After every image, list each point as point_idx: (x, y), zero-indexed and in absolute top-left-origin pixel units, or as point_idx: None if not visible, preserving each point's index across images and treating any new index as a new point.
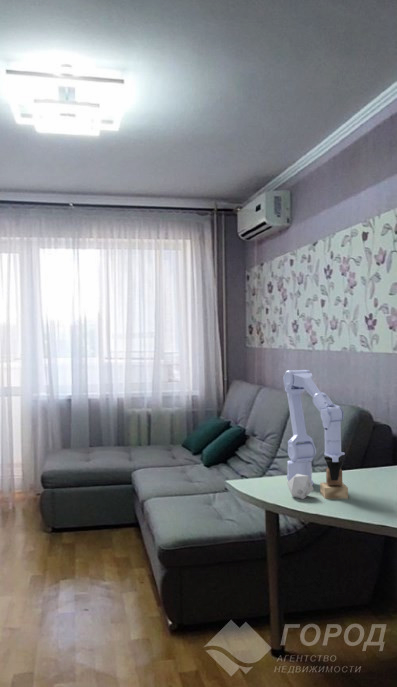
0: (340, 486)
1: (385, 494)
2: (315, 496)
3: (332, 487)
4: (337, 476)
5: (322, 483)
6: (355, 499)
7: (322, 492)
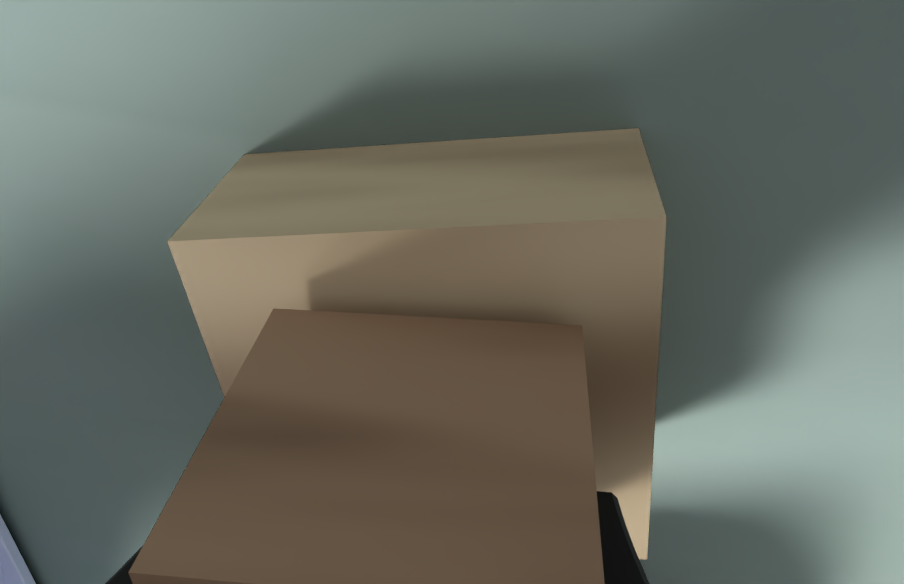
0: None
1: None
2: None
3: (618, 465)
4: (640, 578)
5: None
6: (746, 6)
7: None
